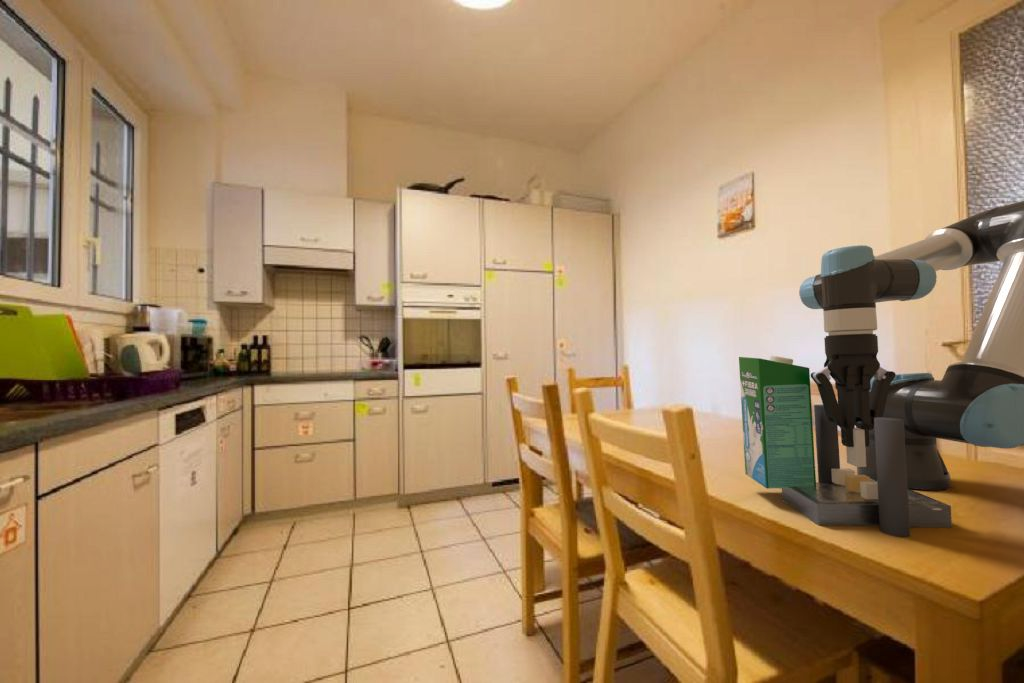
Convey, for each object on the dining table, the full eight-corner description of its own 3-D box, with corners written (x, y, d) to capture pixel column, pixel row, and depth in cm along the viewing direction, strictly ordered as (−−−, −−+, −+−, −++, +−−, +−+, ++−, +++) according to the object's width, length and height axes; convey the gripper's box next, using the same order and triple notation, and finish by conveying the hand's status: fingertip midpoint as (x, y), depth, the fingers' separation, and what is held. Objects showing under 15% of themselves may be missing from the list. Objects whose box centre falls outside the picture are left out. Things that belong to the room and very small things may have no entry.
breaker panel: (887, 497, 83) (886, 478, 83) (963, 532, 67) (962, 508, 67) (777, 496, 85) (776, 477, 85) (825, 530, 69) (824, 507, 69)
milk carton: (816, 488, 80) (809, 355, 80) (766, 488, 81) (758, 357, 81) (790, 473, 89) (783, 354, 89) (745, 474, 90) (738, 356, 90)
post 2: (898, 527, 69) (892, 417, 70) (916, 537, 66) (910, 420, 66) (874, 527, 70) (868, 417, 70) (890, 537, 66) (884, 421, 67)
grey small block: (850, 482, 81) (849, 468, 81) (855, 484, 79) (854, 470, 79) (832, 481, 81) (831, 468, 81) (836, 484, 80) (835, 470, 80)
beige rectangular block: (881, 496, 73) (880, 481, 73) (887, 499, 71) (886, 484, 71) (860, 496, 73) (860, 481, 73) (866, 499, 72) (865, 484, 72)
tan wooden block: (865, 488, 77) (864, 474, 77) (870, 491, 75) (869, 477, 75) (845, 488, 77) (844, 474, 77) (850, 491, 76) (850, 477, 76)
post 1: (834, 493, 86) (829, 404, 86) (846, 499, 82) (840, 406, 83) (815, 493, 86) (810, 404, 87) (826, 499, 83) (820, 406, 83)
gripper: (874, 333, 80) (881, 459, 79) (799, 335, 81) (805, 459, 81) (906, 331, 72) (913, 470, 72) (823, 334, 74) (829, 470, 73)
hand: (856, 464), depth 76 cm, fingers closed
